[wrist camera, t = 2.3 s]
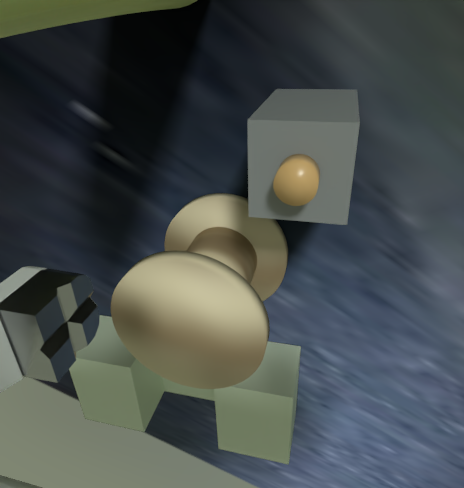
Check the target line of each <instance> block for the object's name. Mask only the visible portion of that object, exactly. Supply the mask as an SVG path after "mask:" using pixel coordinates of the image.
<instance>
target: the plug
mask: <svg viewBox="0 0 464 488" xmlns="http://www.w3.org/2000/svg"><path fill="white" fill-rule="evenodd" d="M359 125H360V120H359V108H358V96H357V90H332V89H276V90H275V91H274V92H273V93H272V94H271V96H270V97H269V98H268V99H267V100H266V101H265V102H264V103H263V104H262V105H261V106H260V107H259V108H258V109H257V110H256V111H255V112H254V113H253V115H252V116H251V117H250V118H249V119H248V208H249V217H257V218H269V219H281V220H292V221H304V222H316V223H328V224H340V225H347V220H348V212H349V204H350V196H351V188H352V180H353V172H354V164H355V156H356V148H357V140H358V133H359Z"/></svg>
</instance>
